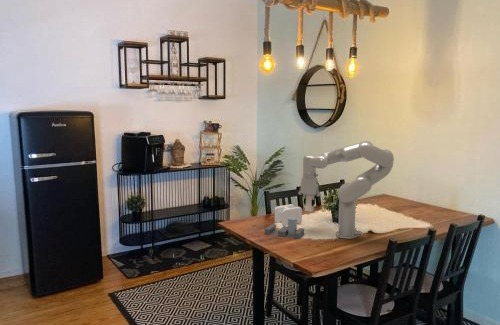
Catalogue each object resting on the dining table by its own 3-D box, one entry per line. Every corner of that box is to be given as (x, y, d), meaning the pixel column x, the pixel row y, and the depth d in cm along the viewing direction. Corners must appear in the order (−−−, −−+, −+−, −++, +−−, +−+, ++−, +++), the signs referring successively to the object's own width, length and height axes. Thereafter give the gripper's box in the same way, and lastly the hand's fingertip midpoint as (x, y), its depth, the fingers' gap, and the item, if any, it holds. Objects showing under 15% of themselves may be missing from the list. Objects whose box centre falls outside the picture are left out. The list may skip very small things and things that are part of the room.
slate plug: (296, 234, 234) (296, 218, 232) (294, 236, 230) (294, 219, 228) (290, 233, 235) (290, 217, 234) (288, 235, 232) (288, 219, 230)
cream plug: (313, 211, 238) (314, 195, 239) (311, 211, 234) (312, 194, 235) (306, 211, 240) (308, 194, 240) (304, 210, 236) (306, 194, 237)
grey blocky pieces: (305, 235, 234) (305, 228, 234) (300, 240, 225) (300, 234, 225) (270, 230, 244) (270, 224, 244) (263, 235, 236) (263, 228, 235)
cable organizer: (282, 227, 249) (282, 210, 247) (274, 223, 258) (274, 206, 257) (302, 224, 256) (302, 206, 254) (293, 220, 265) (293, 203, 263)
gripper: (324, 175, 234) (324, 205, 237) (298, 173, 241) (298, 202, 244) (321, 177, 227) (321, 208, 230) (294, 175, 234) (294, 205, 237)
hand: (309, 205), depth 237 cm, fingers closed on cream plug, 4 cm apart
